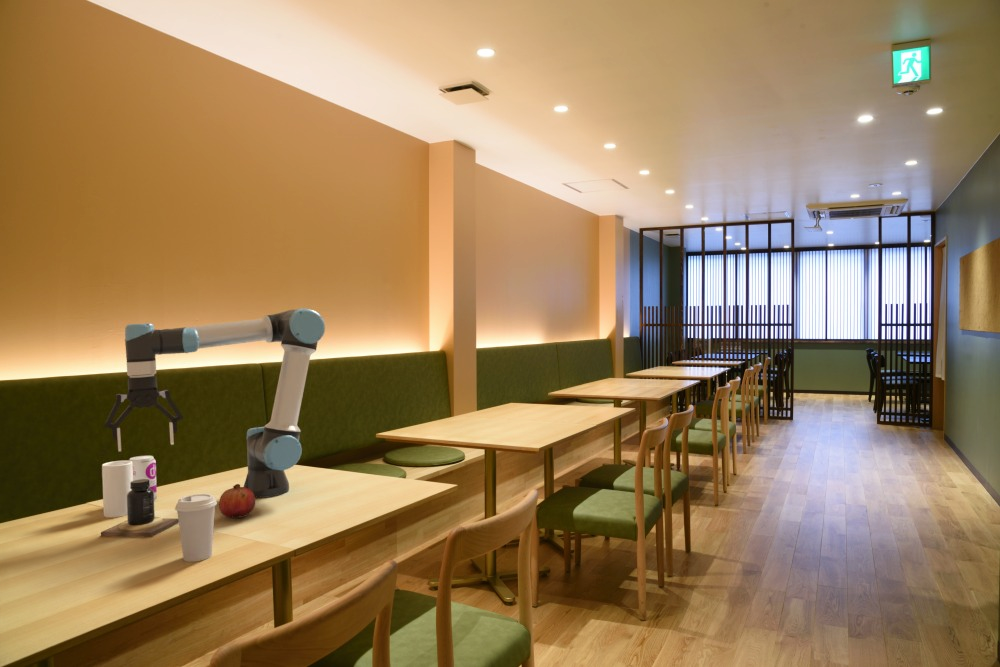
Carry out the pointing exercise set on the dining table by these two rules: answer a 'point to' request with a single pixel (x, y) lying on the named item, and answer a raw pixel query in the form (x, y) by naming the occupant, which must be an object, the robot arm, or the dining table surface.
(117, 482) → the cup
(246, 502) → the fruit
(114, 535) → the walnut board
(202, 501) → the coffee cup
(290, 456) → the robot arm
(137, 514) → the supplement bottle
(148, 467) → the supplement can
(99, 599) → the dining table surface
